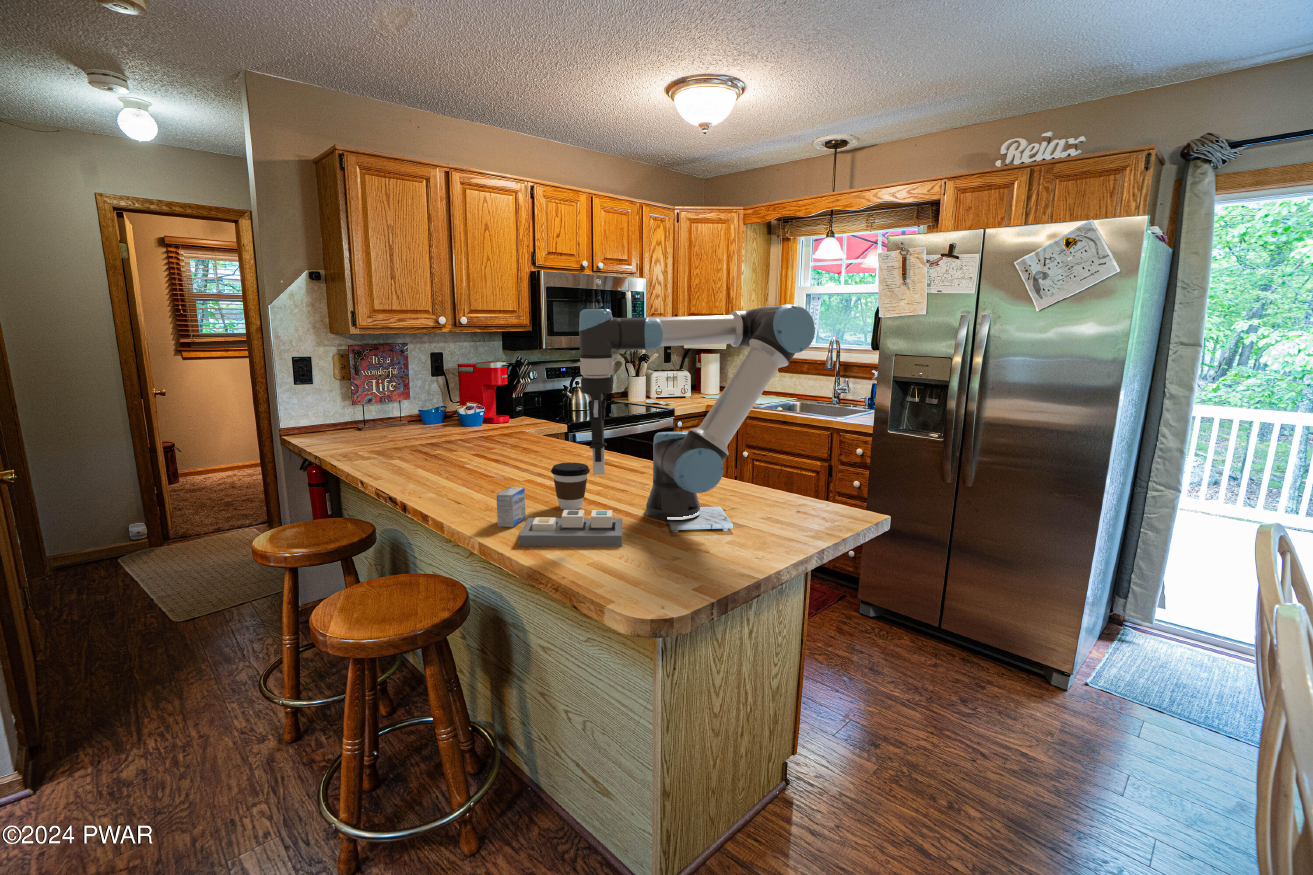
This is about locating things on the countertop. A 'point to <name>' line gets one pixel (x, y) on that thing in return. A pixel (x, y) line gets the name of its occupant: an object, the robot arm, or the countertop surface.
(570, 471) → the coffee cup
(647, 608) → the countertop surface
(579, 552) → the countertop surface
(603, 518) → the key
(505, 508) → the medicine box
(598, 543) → the keypad board
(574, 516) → the key
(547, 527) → the key
